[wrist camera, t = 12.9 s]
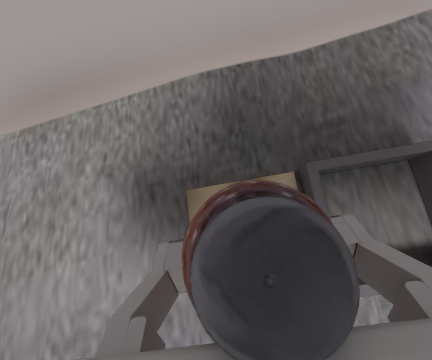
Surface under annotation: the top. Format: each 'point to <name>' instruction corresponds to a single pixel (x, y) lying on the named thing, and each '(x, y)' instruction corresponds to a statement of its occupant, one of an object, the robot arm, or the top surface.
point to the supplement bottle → (270, 274)
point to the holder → (417, 154)
